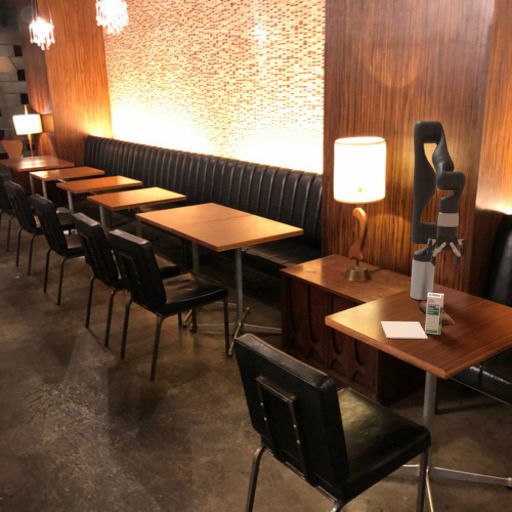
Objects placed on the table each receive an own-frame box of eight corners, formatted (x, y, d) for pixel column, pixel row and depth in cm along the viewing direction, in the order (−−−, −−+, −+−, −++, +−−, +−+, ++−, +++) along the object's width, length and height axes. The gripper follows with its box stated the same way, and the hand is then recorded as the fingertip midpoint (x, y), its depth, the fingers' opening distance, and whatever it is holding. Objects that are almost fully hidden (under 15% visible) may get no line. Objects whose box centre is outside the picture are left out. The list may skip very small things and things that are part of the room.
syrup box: (424, 333, 199) (427, 296, 195) (425, 327, 205) (428, 291, 201) (440, 335, 197) (443, 298, 193) (441, 329, 203) (444, 293, 199)
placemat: (380, 322, 210) (380, 321, 210) (418, 323, 209) (418, 321, 209) (386, 338, 196) (386, 337, 195) (427, 339, 194) (427, 337, 194)
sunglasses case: (457, 323, 208) (450, 310, 206) (441, 333, 208) (434, 319, 206) (438, 307, 225) (431, 294, 223) (423, 315, 225) (416, 303, 224)
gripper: (463, 222, 210) (460, 263, 213) (426, 222, 211) (424, 263, 214) (469, 225, 202) (466, 267, 206) (431, 225, 203) (428, 267, 207)
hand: (445, 265), depth 210 cm, fingers open, 8 cm apart
